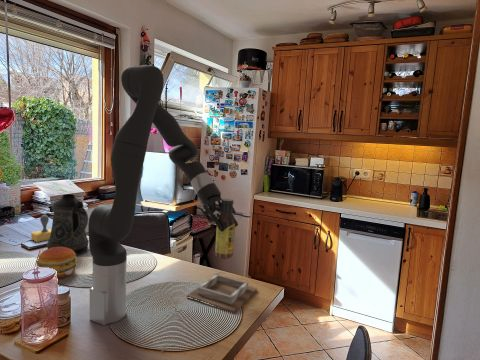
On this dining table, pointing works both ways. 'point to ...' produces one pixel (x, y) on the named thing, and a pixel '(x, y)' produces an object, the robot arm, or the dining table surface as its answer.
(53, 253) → the burger
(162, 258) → the dining table surface
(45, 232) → the rubber stamp
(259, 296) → the dining table surface
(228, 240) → the sauce bottle
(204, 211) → the robot arm
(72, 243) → the beer stein
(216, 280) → the carrier board
